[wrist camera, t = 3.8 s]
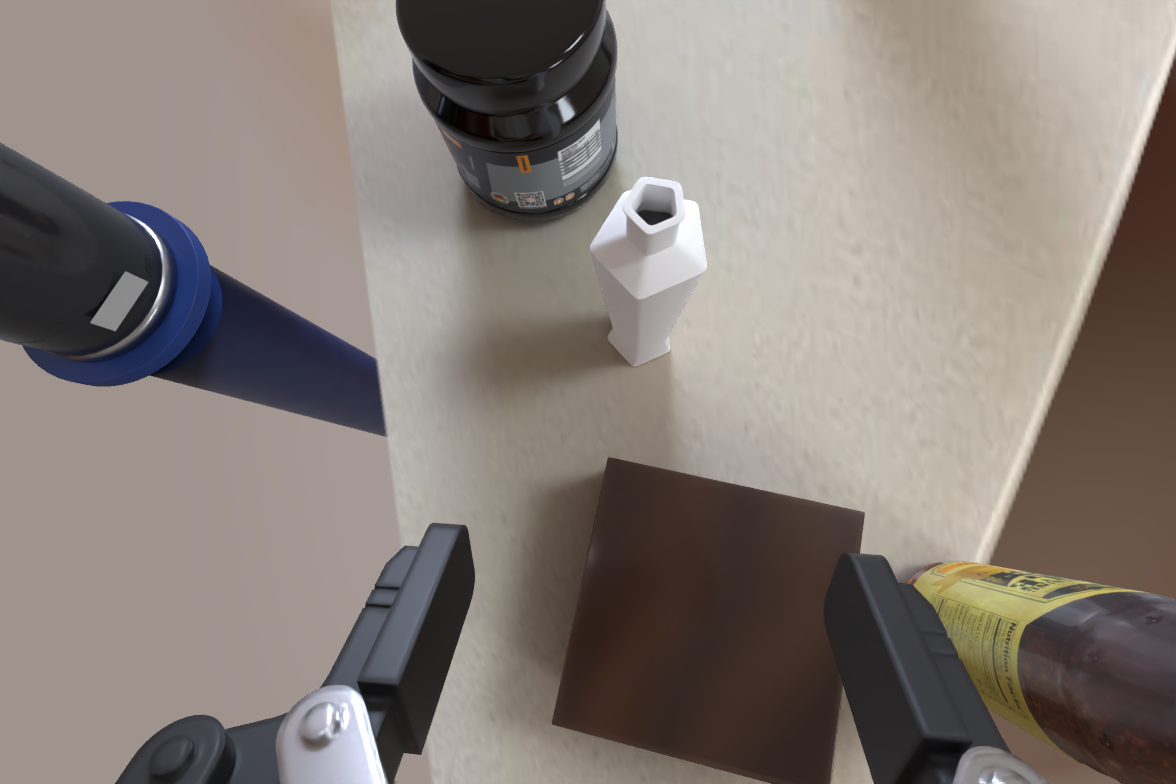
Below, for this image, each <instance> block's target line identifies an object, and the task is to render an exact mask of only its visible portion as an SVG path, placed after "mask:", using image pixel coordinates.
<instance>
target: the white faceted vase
mask: <svg viewBox="0 0 1176 784" xmlns="http://www.w3.org/2000/svg"><path fill="white" fill-rule="evenodd" d="M590 252H591V255H592V259H593V262H594V266H595V269H596V272H597V276H598V279H599V283H600V286H601V289H602V293H603V296H604V300H605V303H606V306H607V310H608V313H609V317H610V320H611V323H612V327H613V328H612V330H611V332H610V333H609V335H608V337H607V338H608V341H609V342H610V343H611V344H612V345H613V346H614V347H615V349H616V350H617V351H618V352H619V353H620V354H621V355H622V356H623V357H624V358H625V359H626V360H627V361H628V362H629V364H630V365H632V366H634V367H636V366H639V365H641V364H643V363H646V362H648V361H650V360H653V359H655V358H657V357H660V356H662V355H664V354H666V353H668V352H669V351H670V348H671V347H670V339H669V334H670V332H671V331H672V329H673V327H674V325H675V324H676V322H677V320H678V318H679V316H680V315H681V313H682V311H683V309H684V308H685V306H686V304H687V302H688V301H689V299H690V297H691V295H692V293H693V292H694V290H695V288H696V286H697V285H698V283H699V281H700V279H701V278H702V276H703V274H704V272H705V270H706V269H707V262H706V255H705V248H704V242H703V235H702V228H701V221H700V214H699V208H698V205H697V204H696V203H695V202H693V201H690V200H684V198H683V191H682V187H681V185H680V184H679V183H678V182H675V181H670V180H664V179H658V178H652V177H642V178H640V179H639V180H638V181H637V182H636V184H635V185H634V187H633V189H632V190H631V191H625V192H624V193H623V194H622V195H621V197H620V198H619V200H618V202H617V203H616V205H615V206H614V208H613V210H612V211H611V213H610V214H609V216H608V218H607V219H606V221H605V222H604V224H603V226H602V227H601V229H600V230H599V232H598V234H597V235H596V237H595V238H594V240H593V242H592V243H591V245H590Z"/></svg>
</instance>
